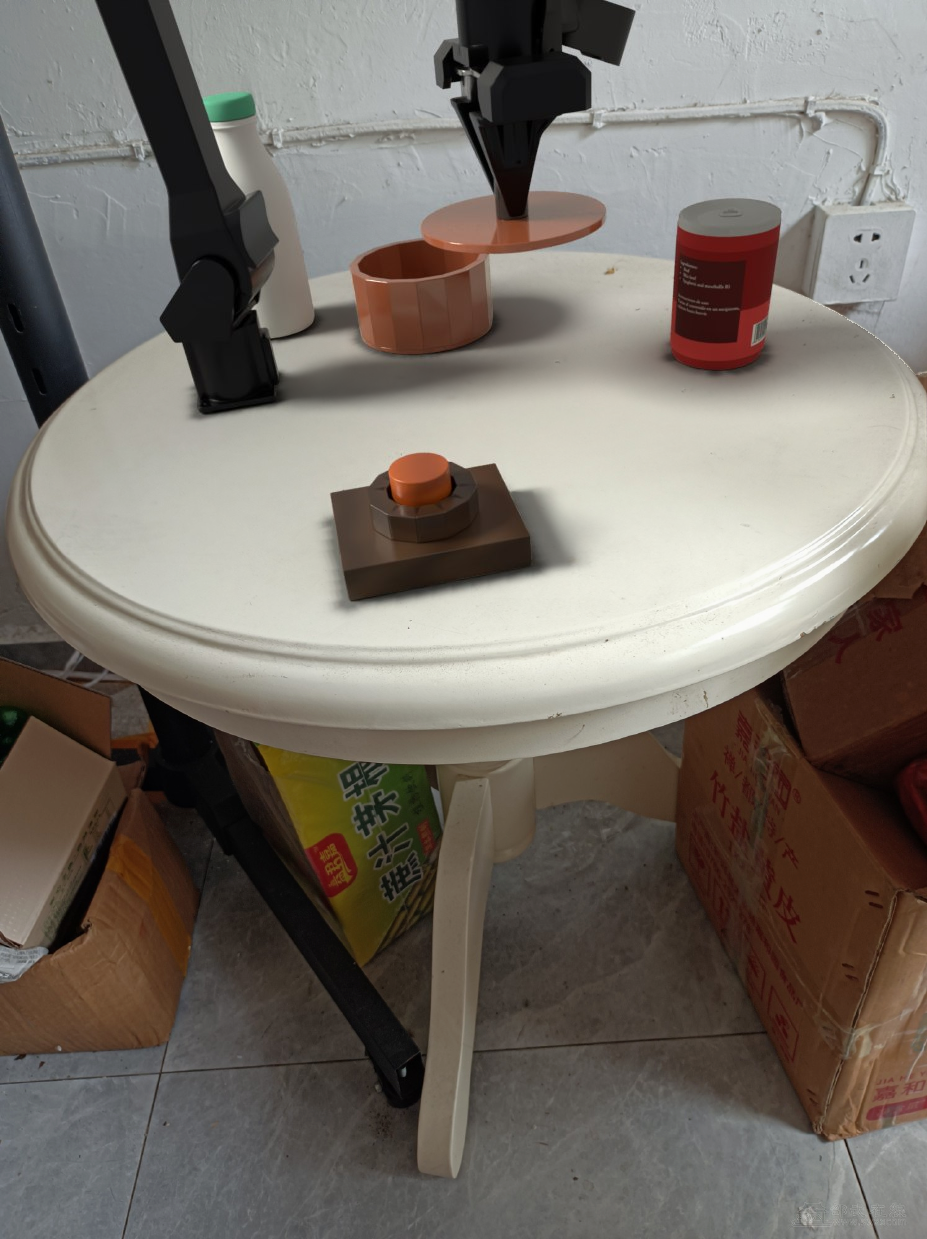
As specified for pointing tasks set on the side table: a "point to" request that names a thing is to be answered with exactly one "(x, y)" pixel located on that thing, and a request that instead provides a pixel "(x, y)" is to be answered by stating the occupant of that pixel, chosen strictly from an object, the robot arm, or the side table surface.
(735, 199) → the canned food
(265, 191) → the milk bottle
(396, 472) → the button
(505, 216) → the jar lid
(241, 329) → the robot arm
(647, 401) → the side table surface
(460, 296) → the jar
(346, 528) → the block
